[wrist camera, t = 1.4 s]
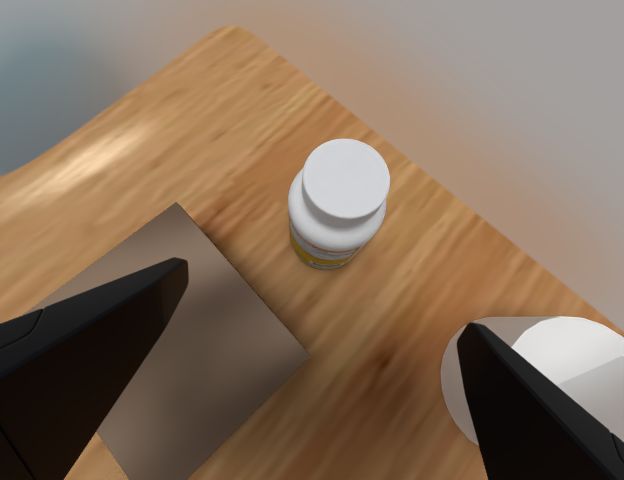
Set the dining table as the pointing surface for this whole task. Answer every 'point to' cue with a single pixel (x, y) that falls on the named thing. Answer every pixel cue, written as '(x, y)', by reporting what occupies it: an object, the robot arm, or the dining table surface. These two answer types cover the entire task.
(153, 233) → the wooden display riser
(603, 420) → the base with upright slab
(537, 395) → the robot arm
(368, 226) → the supplement bottle
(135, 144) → the dining table surface
